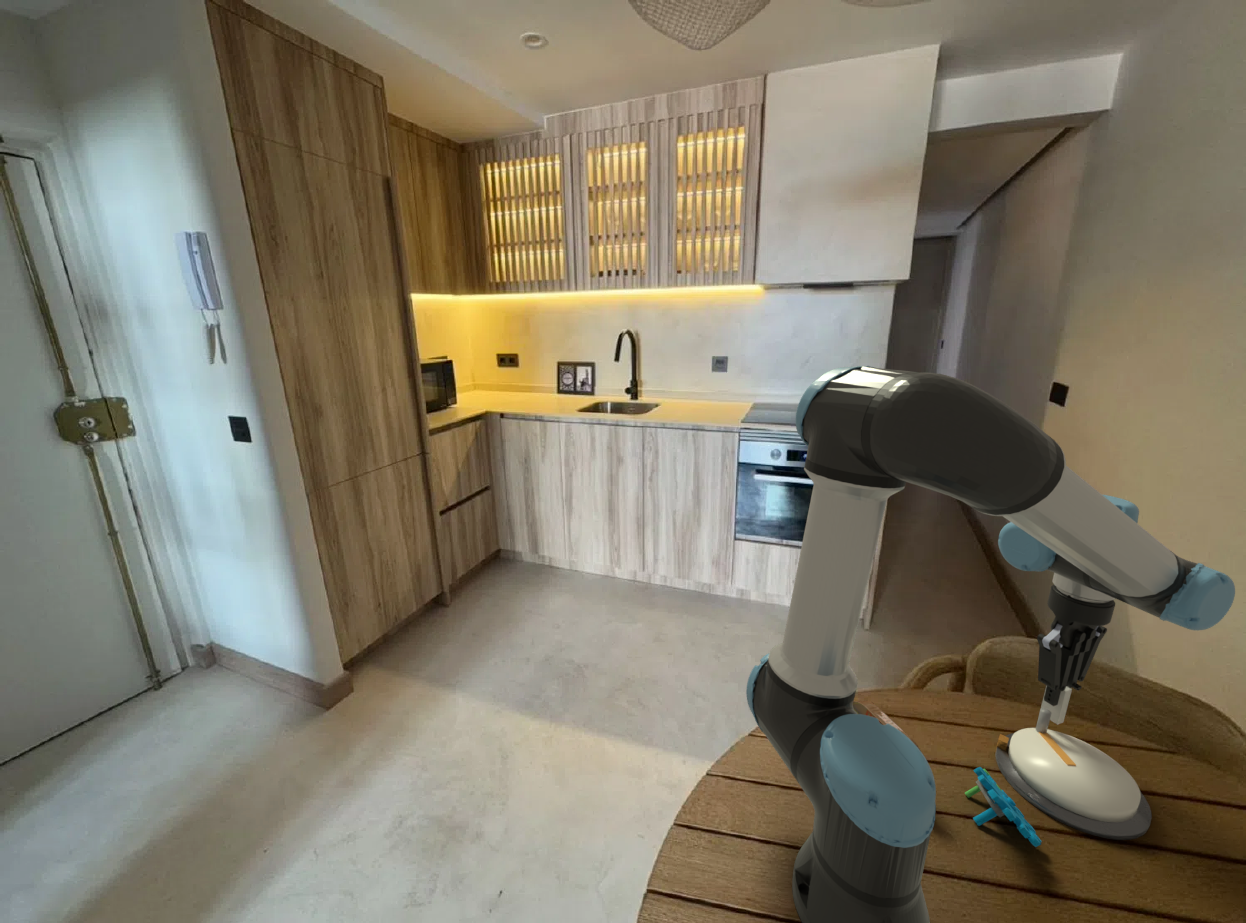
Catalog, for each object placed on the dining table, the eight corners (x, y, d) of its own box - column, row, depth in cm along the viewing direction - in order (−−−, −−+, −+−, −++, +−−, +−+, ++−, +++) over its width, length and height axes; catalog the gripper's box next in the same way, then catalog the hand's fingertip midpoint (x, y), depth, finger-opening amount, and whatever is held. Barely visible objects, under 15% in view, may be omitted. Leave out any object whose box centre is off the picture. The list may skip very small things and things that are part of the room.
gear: (1061, 860, 64) (1005, 800, 65) (1020, 882, 66) (966, 823, 67) (1015, 795, 75) (967, 744, 76) (981, 815, 77) (934, 764, 77)
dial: (1168, 827, 69) (1180, 793, 67) (1050, 816, 71) (1059, 783, 69) (1084, 741, 83) (1092, 711, 82) (988, 734, 85) (994, 704, 83)
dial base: (983, 781, 78) (986, 768, 77) (1007, 720, 90) (1010, 708, 89) (1148, 868, 65) (1153, 853, 64) (1151, 783, 77) (1155, 770, 76)
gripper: (1083, 611, 72) (1049, 744, 78) (1139, 596, 76) (1103, 724, 82) (1028, 587, 79) (1001, 711, 85) (1082, 574, 83) (1053, 693, 89)
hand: (1051, 717), depth 84 cm, fingers closed
